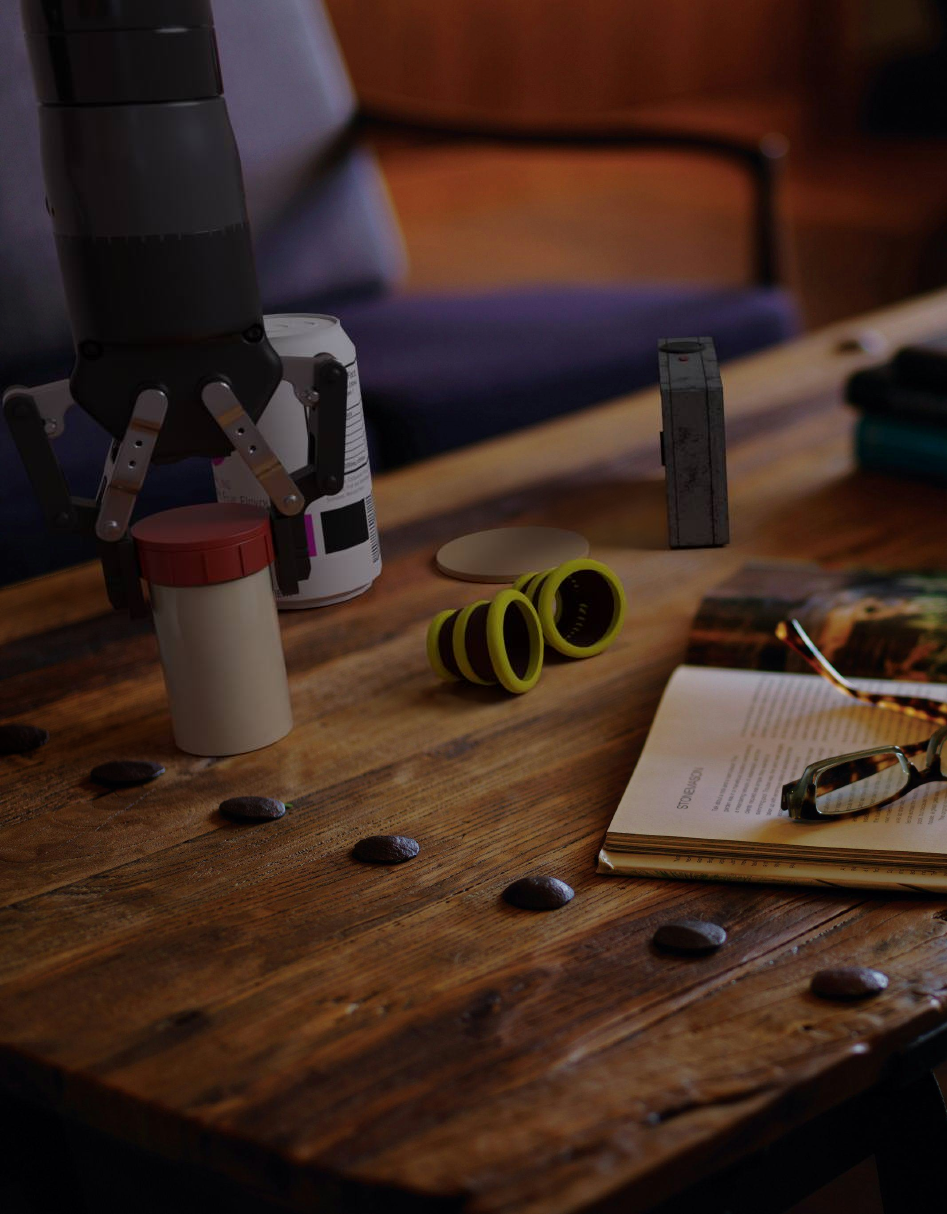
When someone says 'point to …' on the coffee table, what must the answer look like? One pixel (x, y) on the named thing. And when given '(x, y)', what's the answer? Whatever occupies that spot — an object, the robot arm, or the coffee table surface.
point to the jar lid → (203, 543)
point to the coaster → (510, 553)
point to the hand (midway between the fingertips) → (214, 600)
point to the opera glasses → (529, 626)
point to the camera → (693, 442)
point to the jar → (223, 664)
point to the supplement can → (332, 522)
